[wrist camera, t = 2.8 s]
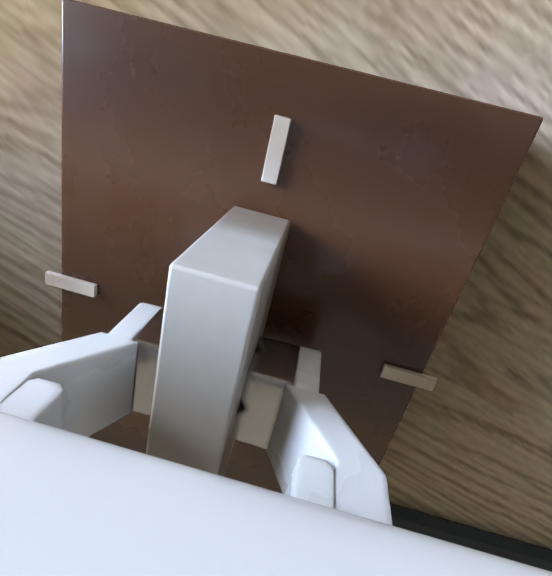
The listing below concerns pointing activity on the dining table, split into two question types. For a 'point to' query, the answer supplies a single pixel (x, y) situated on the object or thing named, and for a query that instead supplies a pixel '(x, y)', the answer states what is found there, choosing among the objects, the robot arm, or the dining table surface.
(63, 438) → the robot arm
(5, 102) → the dining table surface
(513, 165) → the dial panel
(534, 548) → the coaster
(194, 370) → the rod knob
